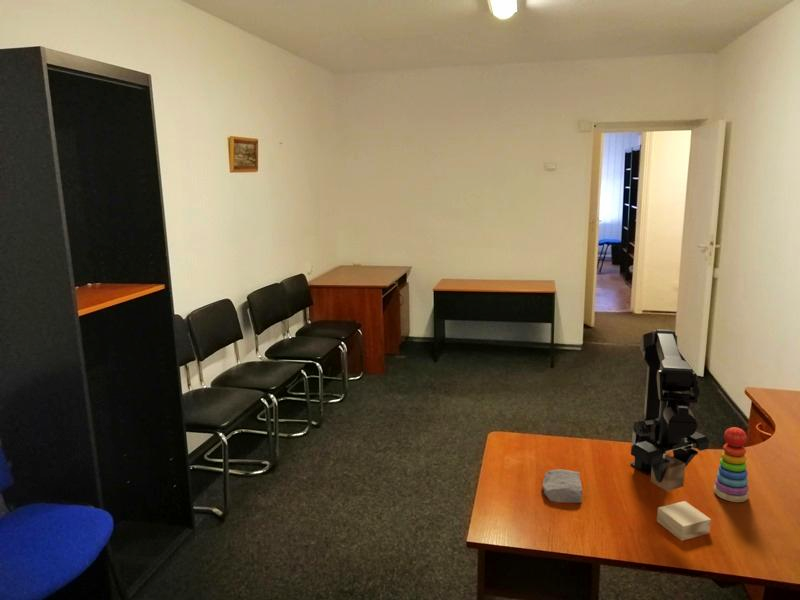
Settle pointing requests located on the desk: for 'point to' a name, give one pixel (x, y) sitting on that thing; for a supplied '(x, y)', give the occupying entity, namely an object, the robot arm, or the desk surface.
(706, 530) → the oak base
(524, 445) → the desk surface
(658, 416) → the robot arm
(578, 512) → the desk surface
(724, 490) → the stacking toy
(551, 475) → the stone block
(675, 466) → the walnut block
